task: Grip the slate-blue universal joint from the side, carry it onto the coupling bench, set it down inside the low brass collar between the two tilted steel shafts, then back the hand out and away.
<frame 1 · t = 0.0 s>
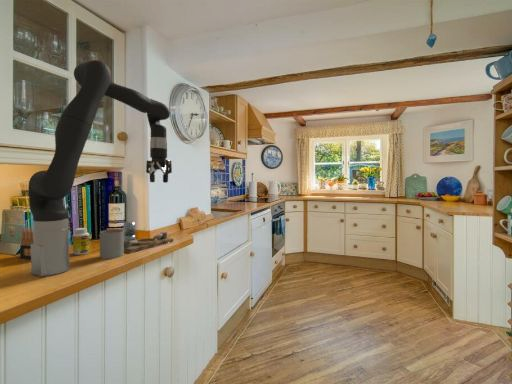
hand: (158, 182, 127), 29 cm above the table, tool pointing down, fingers open, 8 cm apart
cup: (112, 256, 107), on the table
universal joint: (129, 243, 128), on the table
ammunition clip: (33, 259, 103), on the table
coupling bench: (146, 245, 124), on the table
supplement bottle: (81, 253, 110), on the table
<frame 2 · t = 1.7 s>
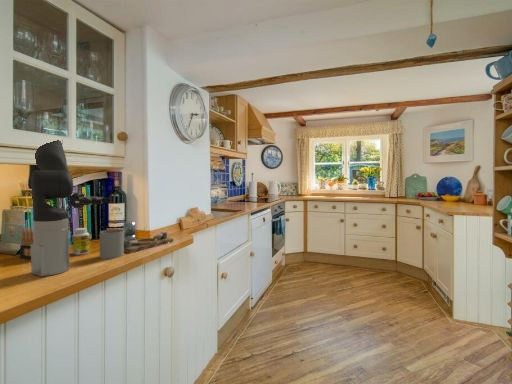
hand: (106, 201, 127), 20 cm above the table, tool horizontal, fingers open, 8 cm apart
nothing on the table moved.
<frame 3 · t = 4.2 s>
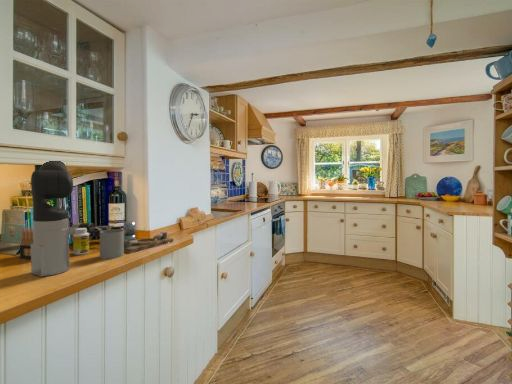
hand: (116, 231, 127), 6 cm above the table, tool horizontal, fingers open, 8 cm apart
nothing on the table moved.
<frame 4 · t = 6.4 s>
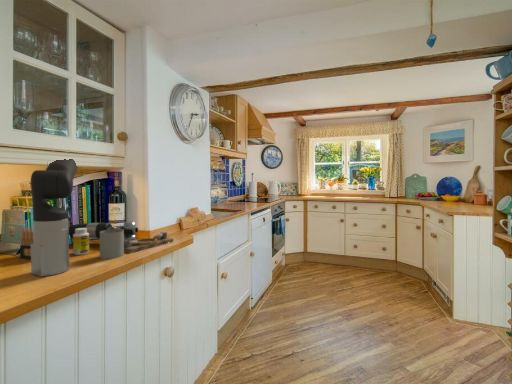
hand: (135, 230, 128), 6 cm above the table, tool horizontal, fingers closed on universal joint, 5 cm apart
universal joint: (129, 243, 128), on the table, touching gripper
everything else where it was.
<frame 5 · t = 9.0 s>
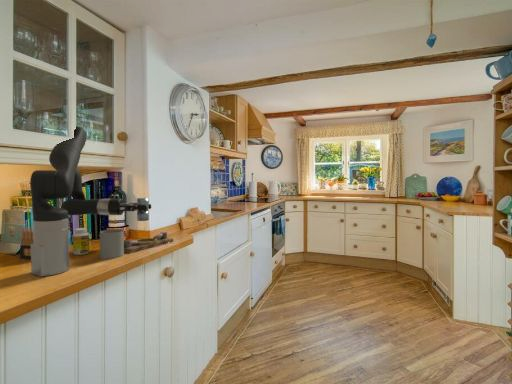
hand: (148, 207, 124), 18 cm above the table, tool horizontal, fingers closed on universal joint, 5 cm apart
universal joint: (142, 220, 124), point 12 cm above the table, touching gripper
everything else where it was.
when the fingers open (9 cm above the table, at t = 11.7 s): universal joint drops 1 cm, resting on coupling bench.
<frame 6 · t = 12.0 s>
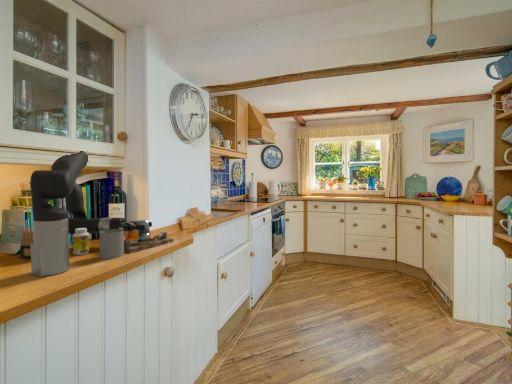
hand: (148, 225, 124), 9 cm above the table, tool horizontal, fingers open, 8 cm apart
universal joint: (144, 242, 124), point 2 cm above the table, touching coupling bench
everything else where it was.
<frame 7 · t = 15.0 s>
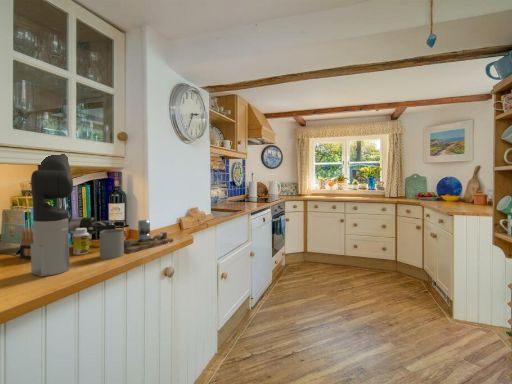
hand: (119, 225, 123), 9 cm above the table, tool horizontal, fingers open, 8 cm apart
nothing on the table moved.
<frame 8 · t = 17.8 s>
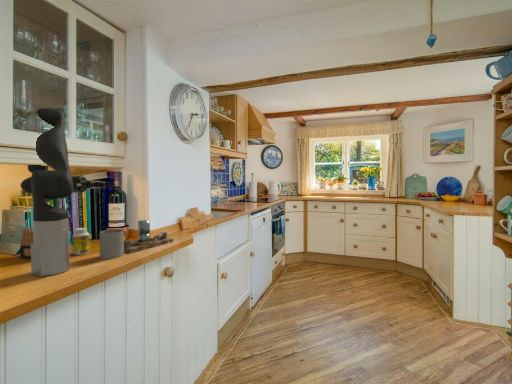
hand: (109, 184, 123), 28 cm above the table, tool horizontal, fingers open, 8 cm apart
nothing on the table moved.
at the end: universal joint 0.9 cm off-centre on the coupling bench, point 1.5 cm above the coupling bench's base; universal joint tilted 0°; the gripper is holding nothing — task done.
